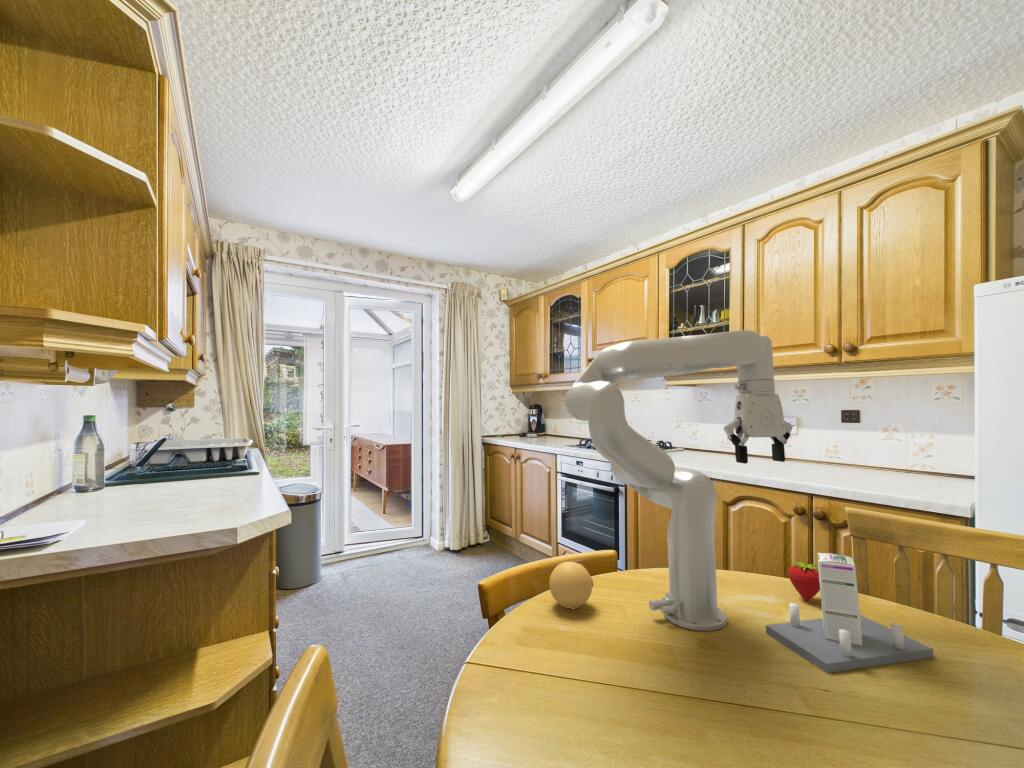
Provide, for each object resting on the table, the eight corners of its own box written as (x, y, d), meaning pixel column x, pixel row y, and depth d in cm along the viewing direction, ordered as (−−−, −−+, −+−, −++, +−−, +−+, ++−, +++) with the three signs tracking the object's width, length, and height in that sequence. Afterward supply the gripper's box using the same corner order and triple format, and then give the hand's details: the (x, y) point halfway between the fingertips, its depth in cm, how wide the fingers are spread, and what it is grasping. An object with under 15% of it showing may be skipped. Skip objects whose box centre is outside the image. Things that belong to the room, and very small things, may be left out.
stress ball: (577, 623, 96) (607, 587, 99) (546, 589, 96) (577, 554, 99) (564, 611, 105) (592, 579, 108) (536, 580, 106) (564, 549, 109)
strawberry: (803, 592, 107) (800, 550, 108) (832, 605, 100) (829, 560, 100) (782, 595, 106) (780, 552, 106) (810, 608, 98) (807, 562, 99)
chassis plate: (827, 672, 74) (825, 639, 75) (765, 632, 88) (764, 604, 89) (933, 657, 78) (930, 625, 79) (858, 621, 92) (856, 594, 92)
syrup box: (863, 647, 79) (857, 564, 80) (823, 638, 83) (818, 559, 84) (859, 633, 84) (853, 555, 85) (821, 626, 87) (816, 551, 88)
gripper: (734, 388, 99) (738, 465, 98) (801, 387, 102) (805, 462, 101) (713, 390, 106) (716, 461, 105) (776, 389, 109) (780, 458, 108)
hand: (760, 461), depth 103 cm, fingers open, 9 cm apart
